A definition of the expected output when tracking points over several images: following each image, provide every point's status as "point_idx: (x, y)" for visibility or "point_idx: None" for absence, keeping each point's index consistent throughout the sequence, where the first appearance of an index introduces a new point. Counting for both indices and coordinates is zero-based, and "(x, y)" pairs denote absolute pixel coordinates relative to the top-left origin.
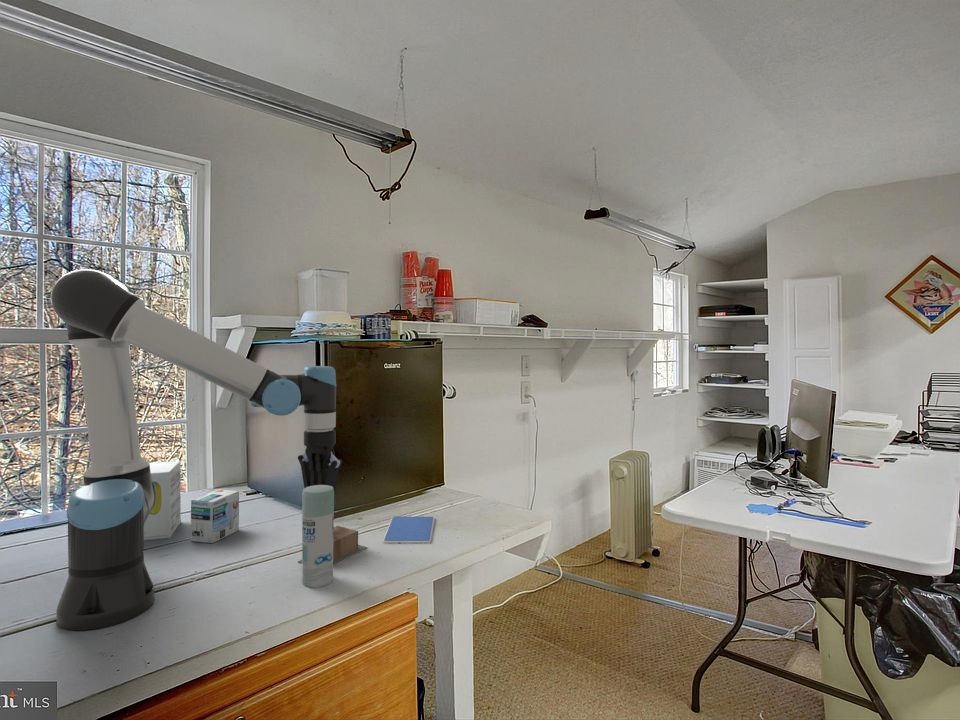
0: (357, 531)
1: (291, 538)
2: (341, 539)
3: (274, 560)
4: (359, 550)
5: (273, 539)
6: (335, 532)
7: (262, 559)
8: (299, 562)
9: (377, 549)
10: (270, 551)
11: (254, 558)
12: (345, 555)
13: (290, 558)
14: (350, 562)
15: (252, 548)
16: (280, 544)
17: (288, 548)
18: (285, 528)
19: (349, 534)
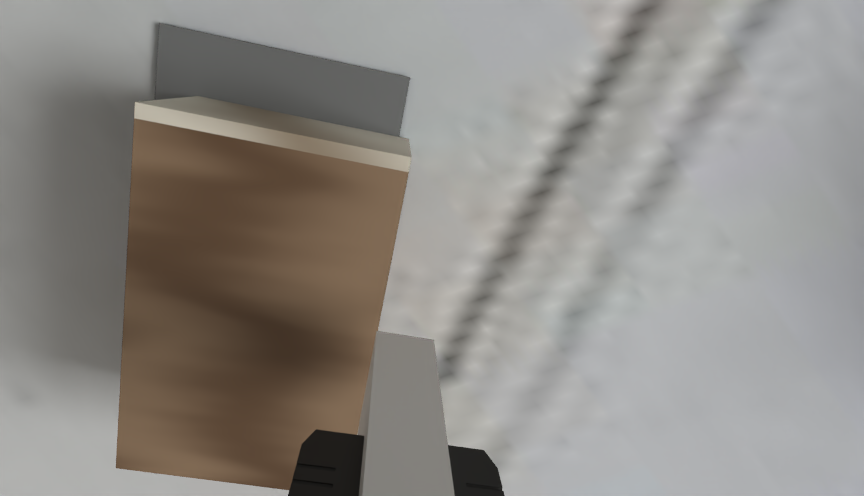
0: (116, 459)
1: (679, 382)
2: (130, 292)
3: (580, 48)
4: None
5: (781, 331)
6: (260, 380)
7: (670, 32)
8: (392, 74)
9: (64, 428)
10: (693, 167)
11: (733, 27)
12: None
13: (496, 116)
14: (76, 202)
15: (837, 166)
16: (694, 283)
17: (607, 248)
18: (799, 488)
19: (122, 384)
